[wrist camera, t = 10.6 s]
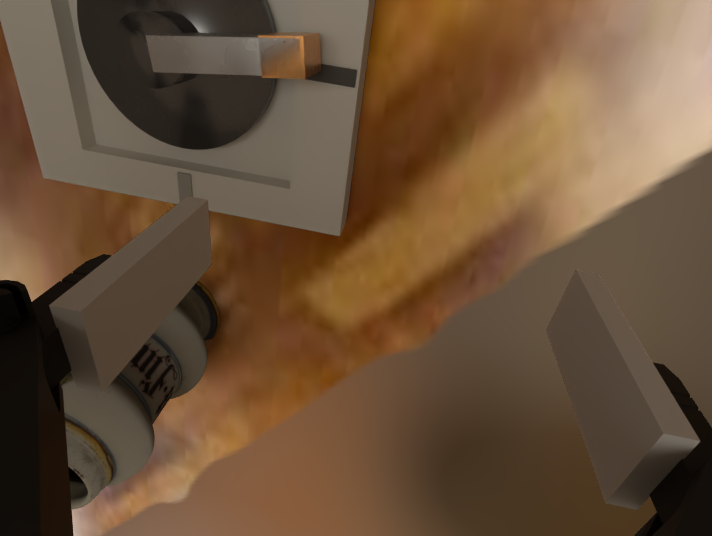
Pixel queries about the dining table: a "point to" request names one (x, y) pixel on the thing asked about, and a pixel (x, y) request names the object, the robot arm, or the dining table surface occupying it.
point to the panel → (211, 166)
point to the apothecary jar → (135, 399)
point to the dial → (192, 64)
